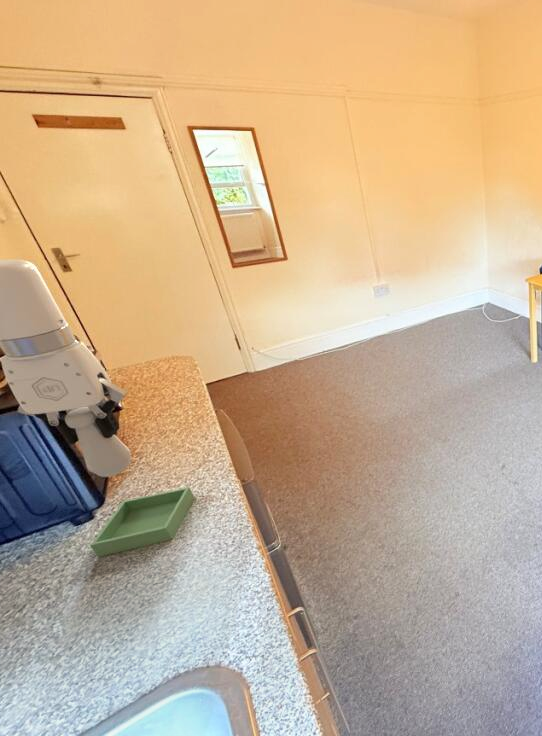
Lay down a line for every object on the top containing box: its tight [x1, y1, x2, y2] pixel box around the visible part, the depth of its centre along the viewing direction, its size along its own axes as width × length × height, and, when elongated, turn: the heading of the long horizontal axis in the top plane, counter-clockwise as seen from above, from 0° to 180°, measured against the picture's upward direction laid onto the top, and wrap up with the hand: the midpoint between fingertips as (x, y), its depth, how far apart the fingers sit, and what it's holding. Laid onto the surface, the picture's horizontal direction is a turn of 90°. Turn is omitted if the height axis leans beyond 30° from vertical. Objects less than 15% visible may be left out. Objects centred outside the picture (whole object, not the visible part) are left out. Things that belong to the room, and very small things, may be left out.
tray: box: [89, 486, 196, 558], centre depth 79 cm, size 12×11×3 cm
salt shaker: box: [65, 407, 132, 478], centre depth 70 cm, size 6×6×13 cm
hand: (95, 435), depth 69 cm, fingers closed on salt shaker, 4 cm apart
